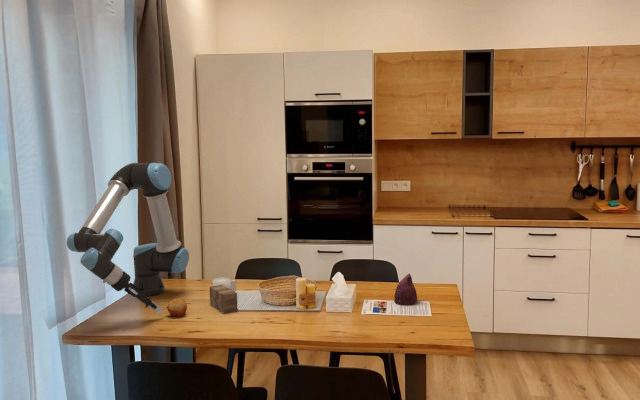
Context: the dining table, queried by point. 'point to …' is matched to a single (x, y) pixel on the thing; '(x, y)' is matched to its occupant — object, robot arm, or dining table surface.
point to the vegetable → (405, 292)
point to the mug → (225, 282)
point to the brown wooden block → (223, 299)
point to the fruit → (177, 307)
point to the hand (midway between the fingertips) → (160, 311)
